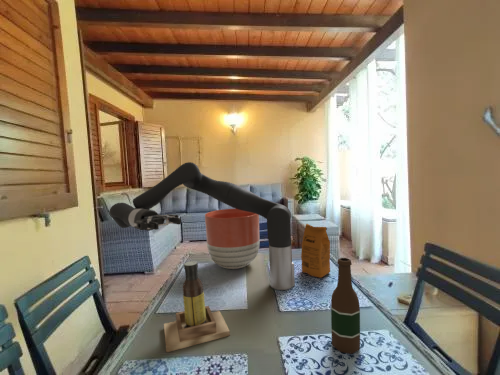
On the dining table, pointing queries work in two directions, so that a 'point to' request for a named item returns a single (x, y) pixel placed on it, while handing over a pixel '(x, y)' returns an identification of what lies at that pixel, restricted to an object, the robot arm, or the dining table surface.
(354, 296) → the beer bottle
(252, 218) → the planter
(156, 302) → the dining table surface
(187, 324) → the sauce bottle
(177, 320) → the socket board
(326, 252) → the coffee package
